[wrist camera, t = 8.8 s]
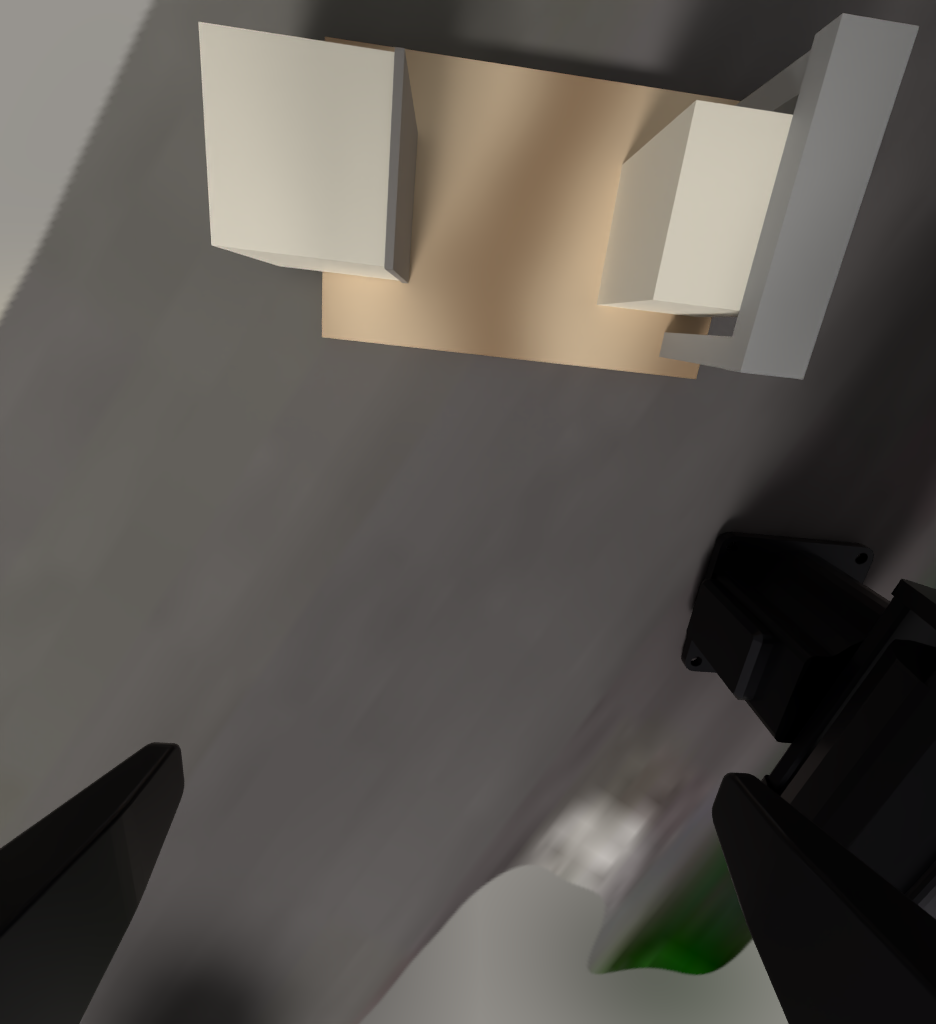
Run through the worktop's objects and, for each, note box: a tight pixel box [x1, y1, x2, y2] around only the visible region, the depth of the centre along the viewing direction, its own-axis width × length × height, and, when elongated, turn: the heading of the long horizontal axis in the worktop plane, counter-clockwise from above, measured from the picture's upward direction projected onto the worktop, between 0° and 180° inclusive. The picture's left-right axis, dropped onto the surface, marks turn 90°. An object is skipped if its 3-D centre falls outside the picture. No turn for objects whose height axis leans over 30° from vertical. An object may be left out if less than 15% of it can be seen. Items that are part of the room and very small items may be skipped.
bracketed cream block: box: [597, 13, 919, 379], centre depth 14 cm, size 4×7×6 cm, turn 174°
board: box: [322, 37, 741, 379], centre depth 16 cm, size 13×8×1 cm, turn 84°
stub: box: [199, 22, 418, 283], centre depth 13 cm, size 4×4×5 cm
